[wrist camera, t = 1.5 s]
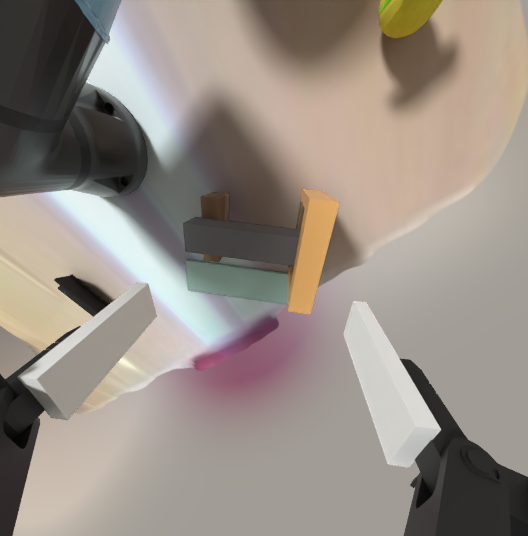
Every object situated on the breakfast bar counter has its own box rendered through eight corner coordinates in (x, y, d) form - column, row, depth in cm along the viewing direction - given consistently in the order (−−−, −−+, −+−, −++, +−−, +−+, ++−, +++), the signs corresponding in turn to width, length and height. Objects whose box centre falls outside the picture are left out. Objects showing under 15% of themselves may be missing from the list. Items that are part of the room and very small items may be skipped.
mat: (189, 288, 43) (187, 290, 43) (186, 259, 40) (185, 260, 40) (294, 303, 42) (294, 305, 42) (300, 274, 39) (301, 276, 39)
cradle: (215, 247, 38) (203, 260, 33) (214, 191, 34) (201, 196, 28) (304, 258, 38) (307, 273, 32) (315, 203, 33) (321, 210, 28)
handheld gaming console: (51, 295, 47) (23, 305, 38) (74, 270, 48) (53, 273, 39) (102, 320, 51) (87, 333, 42) (122, 296, 52) (112, 304, 43)
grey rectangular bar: (196, 242, 32) (185, 251, 28) (195, 216, 30) (183, 223, 26) (317, 257, 31) (321, 269, 27) (323, 232, 29) (328, 241, 25)
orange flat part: (287, 273, 36) (288, 311, 27) (302, 188, 30) (309, 198, 20) (304, 275, 36) (310, 314, 27) (322, 190, 30) (339, 202, 20)
